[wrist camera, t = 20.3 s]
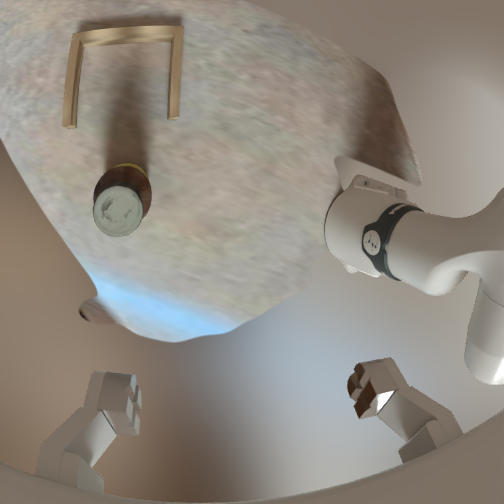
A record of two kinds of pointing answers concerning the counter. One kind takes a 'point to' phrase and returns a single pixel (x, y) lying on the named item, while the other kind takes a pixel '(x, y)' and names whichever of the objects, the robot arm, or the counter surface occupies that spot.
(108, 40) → the wooden bracket
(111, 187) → the sauce bottle
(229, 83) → the counter surface
